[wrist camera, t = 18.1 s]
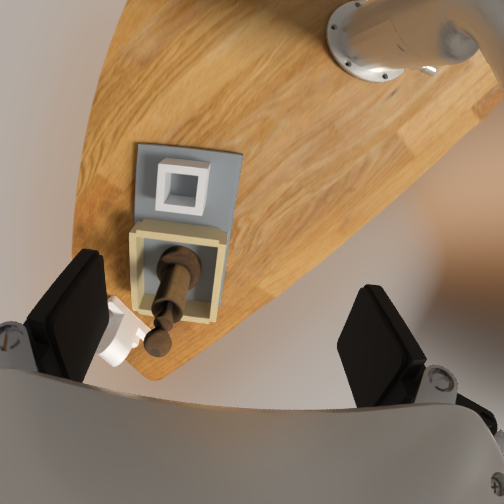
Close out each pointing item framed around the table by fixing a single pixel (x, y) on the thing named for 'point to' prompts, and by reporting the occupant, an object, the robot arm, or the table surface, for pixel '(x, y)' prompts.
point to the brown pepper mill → (171, 295)
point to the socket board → (183, 221)
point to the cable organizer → (120, 333)
